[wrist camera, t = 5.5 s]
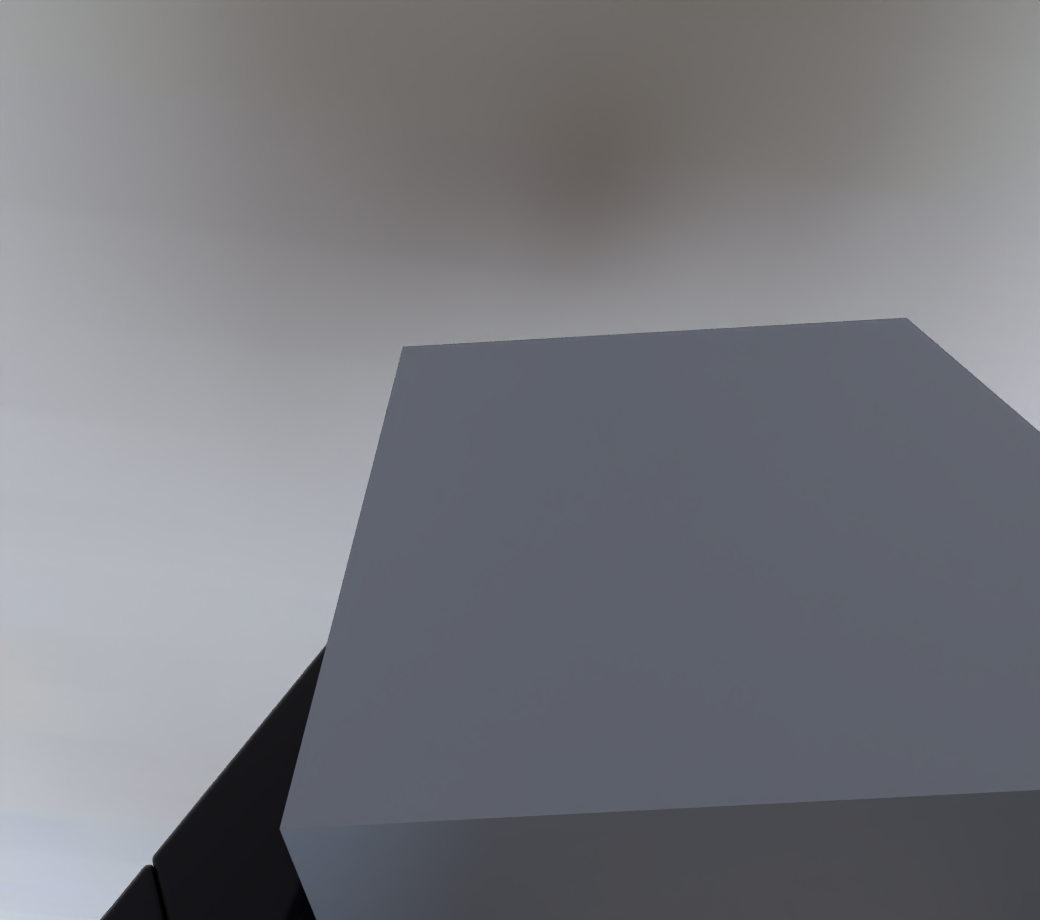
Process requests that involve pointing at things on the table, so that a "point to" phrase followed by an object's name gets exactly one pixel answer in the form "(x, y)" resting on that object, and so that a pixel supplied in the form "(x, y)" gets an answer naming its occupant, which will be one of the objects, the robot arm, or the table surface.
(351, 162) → the table surface
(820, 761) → the slate blue block
